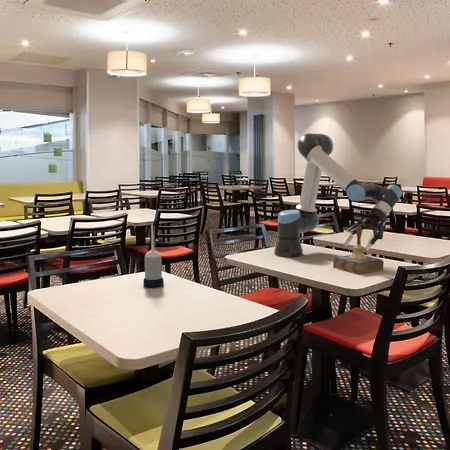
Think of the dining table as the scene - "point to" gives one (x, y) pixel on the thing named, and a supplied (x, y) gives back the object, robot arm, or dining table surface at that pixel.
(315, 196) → the robot arm
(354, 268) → the bell stand
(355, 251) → the hand bell
